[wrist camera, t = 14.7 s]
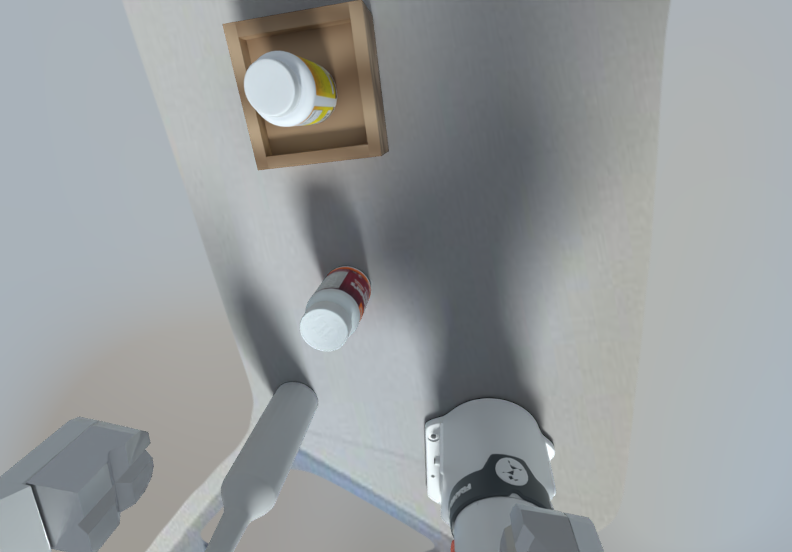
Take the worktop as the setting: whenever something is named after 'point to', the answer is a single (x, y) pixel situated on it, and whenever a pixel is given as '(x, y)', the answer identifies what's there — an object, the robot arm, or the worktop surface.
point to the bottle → (263, 463)
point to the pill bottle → (335, 308)
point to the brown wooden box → (344, 60)
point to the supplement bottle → (290, 89)
